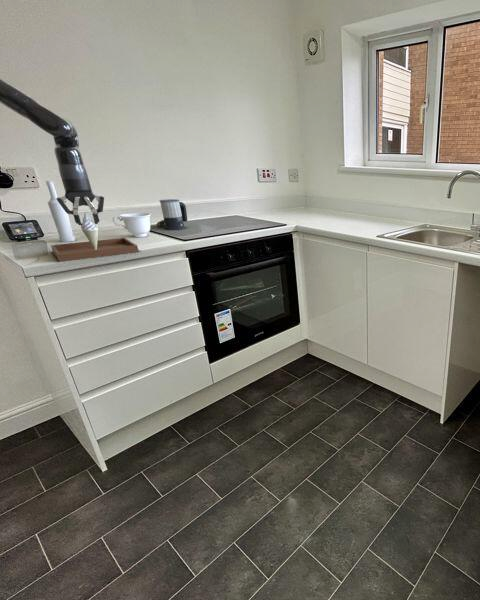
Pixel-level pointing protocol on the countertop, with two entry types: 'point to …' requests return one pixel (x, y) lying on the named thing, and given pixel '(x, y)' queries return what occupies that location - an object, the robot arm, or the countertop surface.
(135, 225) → the teacup
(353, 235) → the countertop surface
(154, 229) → the countertop surface
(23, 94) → the robot arm
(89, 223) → the ice cream cone
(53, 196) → the bottle
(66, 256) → the serving tray
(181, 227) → the milk frother
